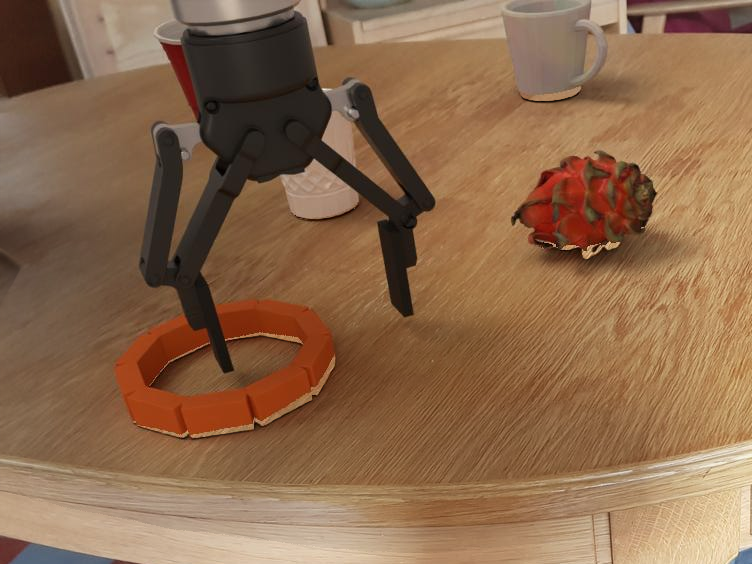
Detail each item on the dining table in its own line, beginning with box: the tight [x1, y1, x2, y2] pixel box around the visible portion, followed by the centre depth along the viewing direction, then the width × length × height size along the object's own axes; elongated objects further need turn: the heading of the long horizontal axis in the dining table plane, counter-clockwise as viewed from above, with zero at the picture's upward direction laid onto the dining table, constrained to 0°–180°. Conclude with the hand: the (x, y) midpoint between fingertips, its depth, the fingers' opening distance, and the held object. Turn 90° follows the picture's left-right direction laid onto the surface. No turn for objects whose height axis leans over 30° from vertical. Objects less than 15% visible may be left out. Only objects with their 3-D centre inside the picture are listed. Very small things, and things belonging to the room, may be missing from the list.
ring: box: [113, 298, 335, 436], centre depth 67 cm, size 15×15×2 cm
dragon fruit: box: [510, 149, 658, 251], centre depth 77 cm, size 8×8×12 cm
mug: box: [500, 0, 609, 95], centre depth 110 cm, size 10×15×10 cm
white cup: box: [279, 87, 360, 218], centre depth 89 cm, size 8×8×10 cm
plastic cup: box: [152, 18, 198, 121], centre depth 112 cm, size 11×11×12 cm
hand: (316, 336), depth 69 cm, fingers open, 13 cm apart
